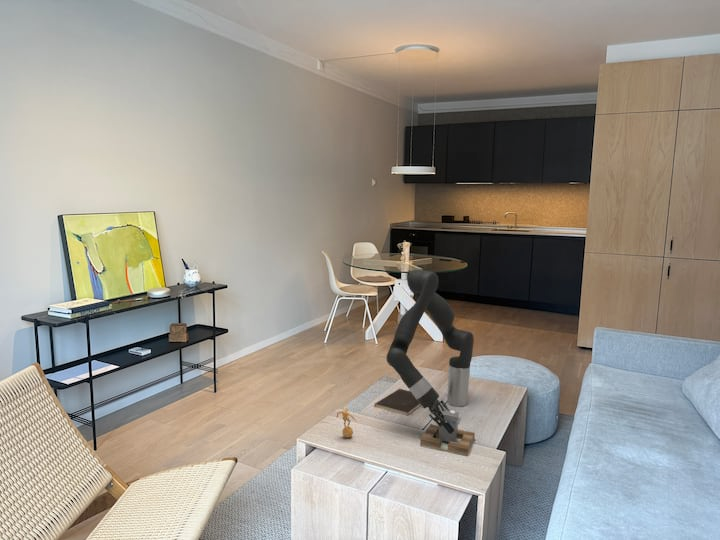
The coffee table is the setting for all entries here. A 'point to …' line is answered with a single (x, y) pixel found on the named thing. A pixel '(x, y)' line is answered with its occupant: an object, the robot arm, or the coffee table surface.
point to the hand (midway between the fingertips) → (453, 429)
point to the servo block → (453, 421)
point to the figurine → (347, 430)
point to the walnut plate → (457, 447)
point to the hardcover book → (399, 402)
